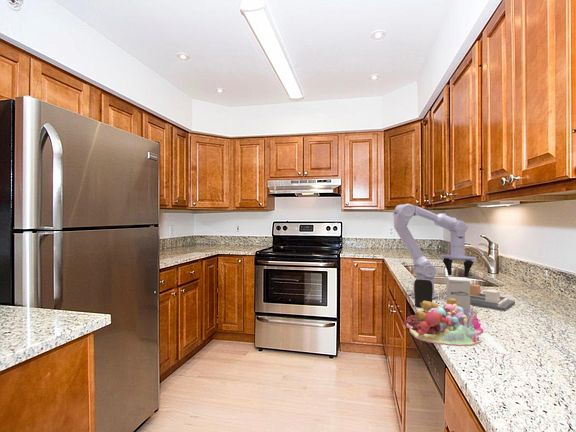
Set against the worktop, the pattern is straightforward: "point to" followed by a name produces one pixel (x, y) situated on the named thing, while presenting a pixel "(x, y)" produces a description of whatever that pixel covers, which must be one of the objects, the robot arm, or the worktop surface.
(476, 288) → the orange block
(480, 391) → the worktop surface
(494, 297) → the cream white block
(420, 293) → the battery charger
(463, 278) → the supplement box
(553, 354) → the worktop surface
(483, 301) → the gray compartment tray
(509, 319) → the worktop surface
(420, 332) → the candy landscape model
